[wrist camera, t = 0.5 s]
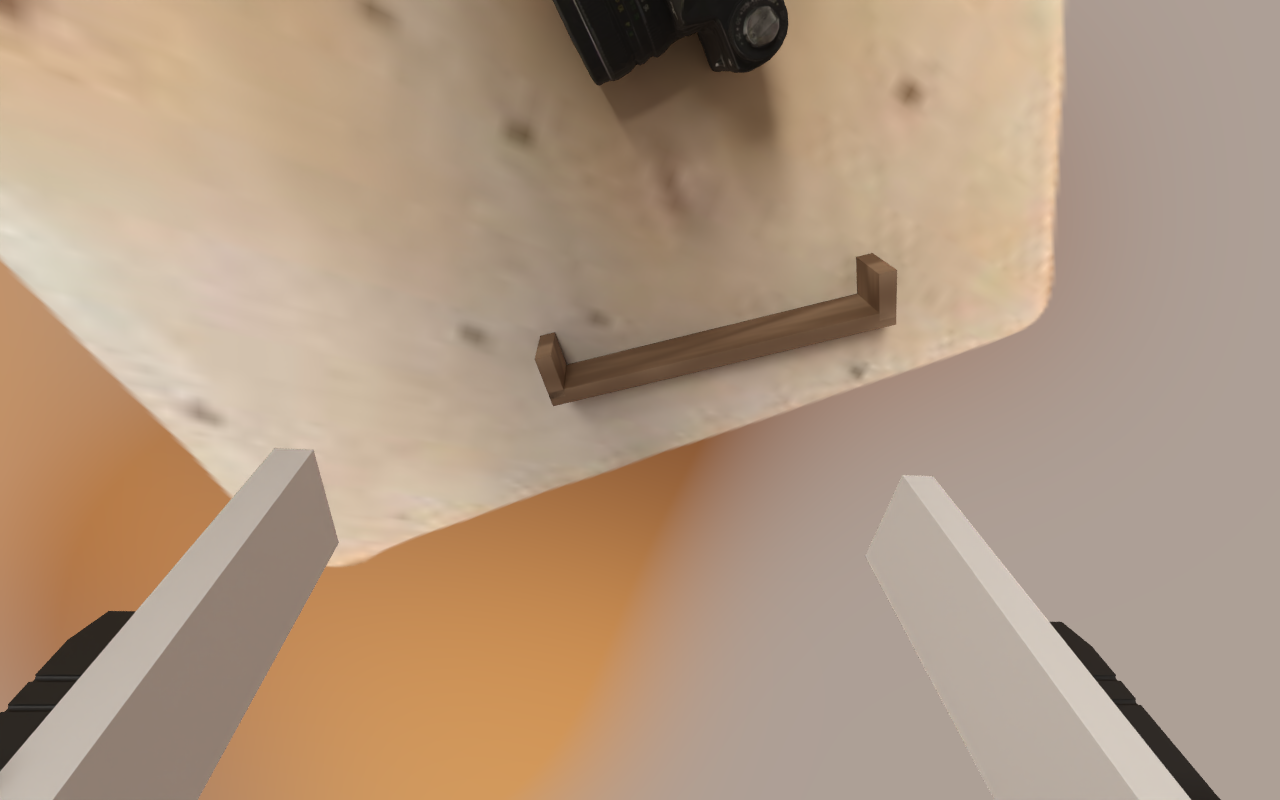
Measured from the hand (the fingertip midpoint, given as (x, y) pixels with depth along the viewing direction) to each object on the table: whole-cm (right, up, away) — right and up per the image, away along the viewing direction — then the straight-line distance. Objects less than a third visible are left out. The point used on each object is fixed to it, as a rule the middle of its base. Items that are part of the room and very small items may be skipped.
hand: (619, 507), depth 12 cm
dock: (+6, +9, +30) cm, 32 cm away
